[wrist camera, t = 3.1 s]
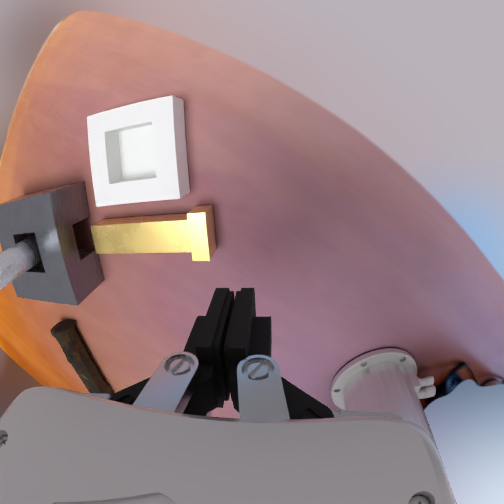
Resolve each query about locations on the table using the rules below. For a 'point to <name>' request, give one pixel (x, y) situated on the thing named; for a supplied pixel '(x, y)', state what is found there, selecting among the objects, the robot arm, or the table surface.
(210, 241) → the key
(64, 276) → the socket
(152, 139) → the tray
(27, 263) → the grey cylindrical peg
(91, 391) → the hand tool
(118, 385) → the table surface
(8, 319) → the table surface
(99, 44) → the table surface
